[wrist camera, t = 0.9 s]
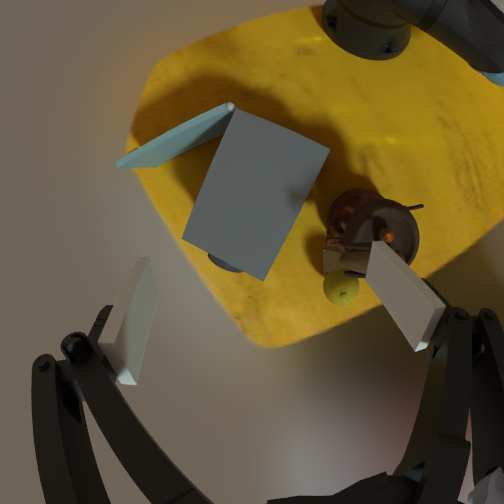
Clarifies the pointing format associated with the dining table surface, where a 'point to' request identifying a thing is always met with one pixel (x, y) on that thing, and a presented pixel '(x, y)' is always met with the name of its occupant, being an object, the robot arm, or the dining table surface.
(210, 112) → the side door
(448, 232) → the dining table surface
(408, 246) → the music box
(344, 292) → the lemon
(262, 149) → the case
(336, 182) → the dining table surface
